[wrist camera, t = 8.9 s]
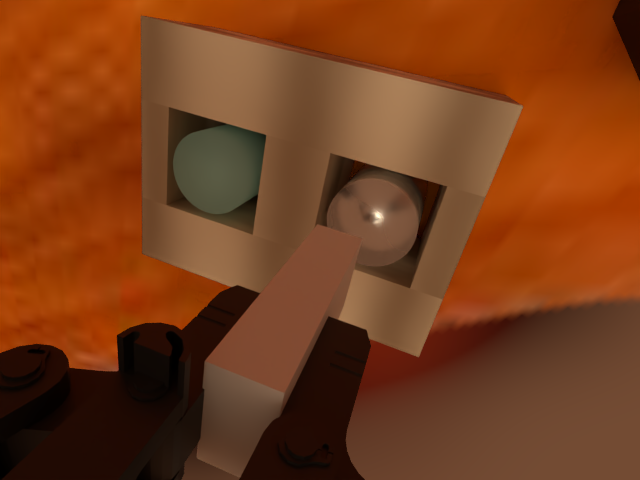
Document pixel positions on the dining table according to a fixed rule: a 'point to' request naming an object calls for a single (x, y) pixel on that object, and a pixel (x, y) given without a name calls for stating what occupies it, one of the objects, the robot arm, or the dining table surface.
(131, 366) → the robot arm
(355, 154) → the socket block
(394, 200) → the steel peg
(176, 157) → the teal peg
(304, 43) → the dining table surface
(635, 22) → the wine bottle
